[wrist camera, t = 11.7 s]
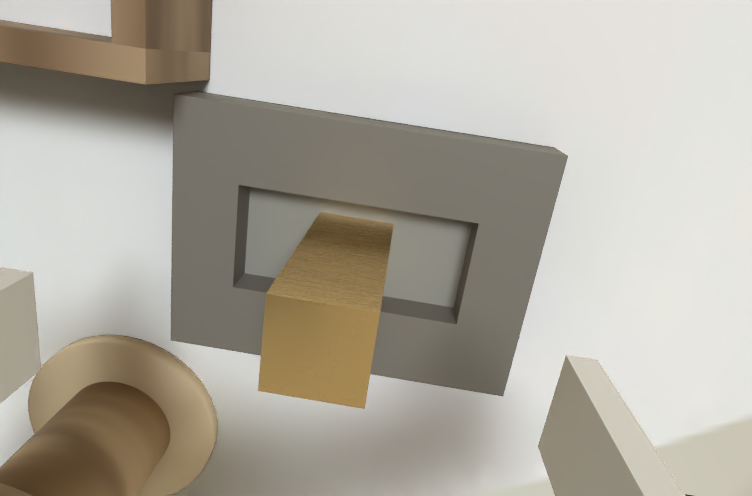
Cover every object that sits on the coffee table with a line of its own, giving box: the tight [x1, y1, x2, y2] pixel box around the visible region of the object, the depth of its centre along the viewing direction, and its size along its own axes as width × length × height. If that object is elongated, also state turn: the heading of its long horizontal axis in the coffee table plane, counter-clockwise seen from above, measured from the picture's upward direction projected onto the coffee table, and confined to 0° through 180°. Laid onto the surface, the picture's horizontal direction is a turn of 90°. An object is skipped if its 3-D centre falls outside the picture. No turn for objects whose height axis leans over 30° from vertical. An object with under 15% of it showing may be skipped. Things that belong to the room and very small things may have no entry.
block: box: [258, 212, 394, 409], centre depth 18 cm, size 3×3×8 cm
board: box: [171, 91, 568, 396], centre depth 21 cm, size 14×10×2 cm
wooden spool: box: [0, 335, 217, 496], centre depth 21 cm, size 9×9×10 cm
